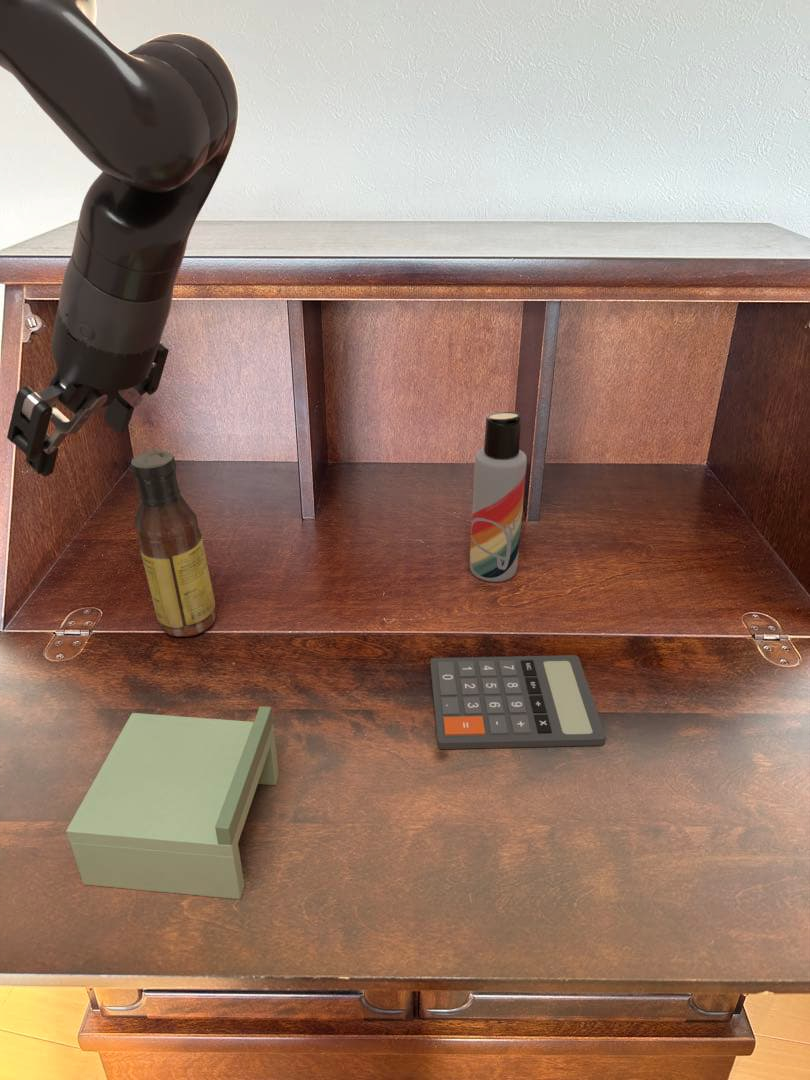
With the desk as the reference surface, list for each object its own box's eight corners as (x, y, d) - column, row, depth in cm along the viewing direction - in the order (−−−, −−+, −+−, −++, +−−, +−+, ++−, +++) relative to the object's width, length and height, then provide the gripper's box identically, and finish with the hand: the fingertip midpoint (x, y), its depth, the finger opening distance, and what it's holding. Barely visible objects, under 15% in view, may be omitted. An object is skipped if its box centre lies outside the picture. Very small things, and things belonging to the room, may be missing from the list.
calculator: (430, 656, 81) (578, 653, 81) (429, 663, 81) (577, 660, 82) (438, 741, 71) (606, 737, 71) (437, 749, 71) (605, 745, 72)
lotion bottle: (483, 587, 93) (494, 427, 83) (460, 563, 98) (468, 408, 87) (525, 576, 95) (541, 419, 85) (501, 553, 100) (513, 400, 89)
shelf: (83, 885, 60) (59, 813, 56) (143, 763, 70) (128, 696, 66) (240, 900, 59) (228, 828, 55) (279, 774, 69) (271, 706, 65)
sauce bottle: (218, 603, 90) (194, 441, 80) (216, 637, 85) (190, 468, 75) (158, 609, 89) (126, 445, 79) (152, 644, 84) (117, 473, 74)
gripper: (145, 255, 65) (108, 388, 77) (-5, 310, 55) (-21, 454, 67) (213, 316, 65) (165, 440, 77) (75, 383, 55) (44, 514, 67)
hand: (78, 446), depth 72 cm, fingers open, 8 cm apart
